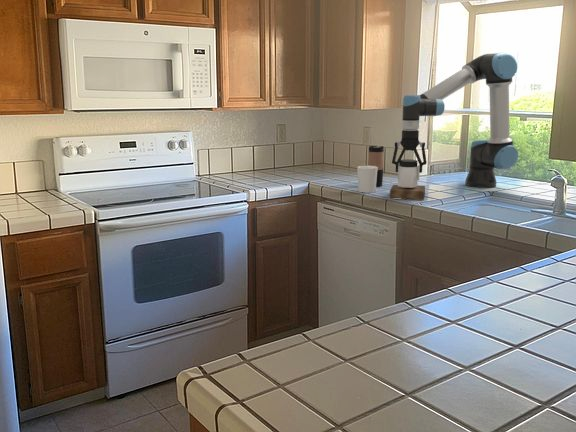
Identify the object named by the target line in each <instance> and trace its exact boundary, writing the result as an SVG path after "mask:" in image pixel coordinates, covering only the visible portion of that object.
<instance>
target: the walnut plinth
mask: <svg viewBox="0 0 576 432" xmlns="http://www.w3.org/2000/svg"><path fill="white" fill-rule="evenodd" d="M425 195H426V185H418V184H417V187H413V188H402V187H400V186H398V184H392V186H391V187H390V190H389V199H390V198H401V199H400V200H406V199H417V200H416V201H424V199H425ZM418 199H419V200H418Z"/></svg>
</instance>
